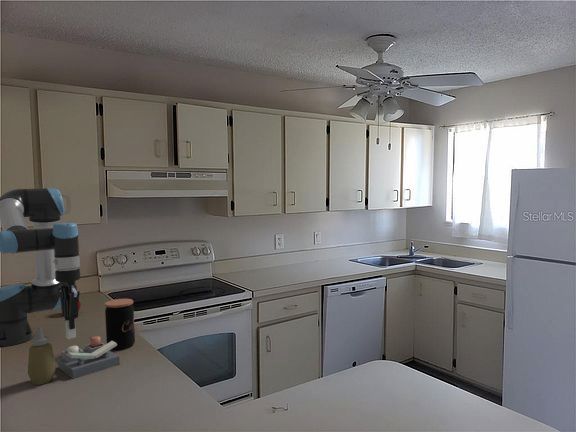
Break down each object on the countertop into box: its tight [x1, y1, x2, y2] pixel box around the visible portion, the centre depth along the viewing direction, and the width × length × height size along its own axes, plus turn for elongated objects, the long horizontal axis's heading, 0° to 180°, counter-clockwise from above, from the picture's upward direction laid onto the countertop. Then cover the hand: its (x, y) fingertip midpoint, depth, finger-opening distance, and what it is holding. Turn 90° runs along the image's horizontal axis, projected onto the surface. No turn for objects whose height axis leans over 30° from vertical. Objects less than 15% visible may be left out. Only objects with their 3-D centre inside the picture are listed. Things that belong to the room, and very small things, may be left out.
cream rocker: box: [91, 341, 117, 358], centre depth 158 cm, size 4×8×2 cm, turn 136°
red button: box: [89, 335, 102, 348], centre depth 162 cm, size 4×4×3 cm
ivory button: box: [66, 345, 80, 354], centre depth 156 cm, size 4×4×3 cm
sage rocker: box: [67, 352, 95, 361], centre depth 152 cm, size 4×8×2 cm, turn 136°
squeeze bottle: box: [27, 326, 56, 385], centre depth 144 cm, size 8×8×18 cm
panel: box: [57, 341, 121, 379], centre depth 157 cm, size 14×16×6 cm
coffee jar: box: [104, 298, 136, 351], centre depth 176 cm, size 11×11×18 cm
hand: (71, 337), depth 149 cm, fingers closed
